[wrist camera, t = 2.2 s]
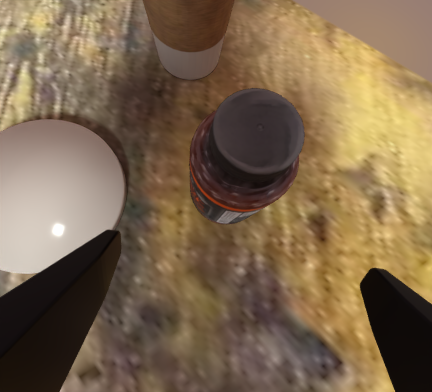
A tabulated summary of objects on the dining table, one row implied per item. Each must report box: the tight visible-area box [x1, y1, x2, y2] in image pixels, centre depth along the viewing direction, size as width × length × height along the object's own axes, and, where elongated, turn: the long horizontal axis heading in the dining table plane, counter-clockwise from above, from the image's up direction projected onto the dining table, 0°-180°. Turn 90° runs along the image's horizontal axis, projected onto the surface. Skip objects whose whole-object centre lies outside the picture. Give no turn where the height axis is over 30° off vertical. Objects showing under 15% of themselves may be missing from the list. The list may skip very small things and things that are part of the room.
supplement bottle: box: [189, 88, 305, 224], centre depth 16 cm, size 6×6×11 cm
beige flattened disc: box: [0, 119, 127, 274], centre depth 19 cm, size 12×12×1 cm
